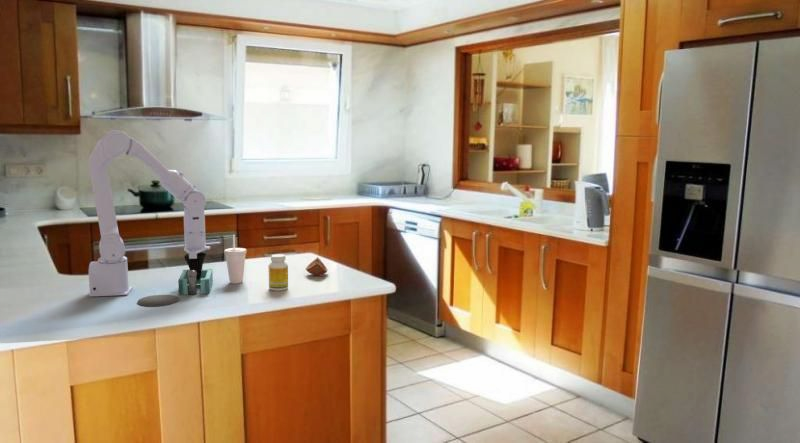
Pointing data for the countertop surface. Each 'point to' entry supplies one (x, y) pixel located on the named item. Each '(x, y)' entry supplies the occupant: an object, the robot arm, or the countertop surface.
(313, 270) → the brown wedge block
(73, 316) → the countertop surface
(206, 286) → the c link
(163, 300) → the coaster
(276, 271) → the supplement bottle
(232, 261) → the smoothie
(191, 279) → the cylinder
